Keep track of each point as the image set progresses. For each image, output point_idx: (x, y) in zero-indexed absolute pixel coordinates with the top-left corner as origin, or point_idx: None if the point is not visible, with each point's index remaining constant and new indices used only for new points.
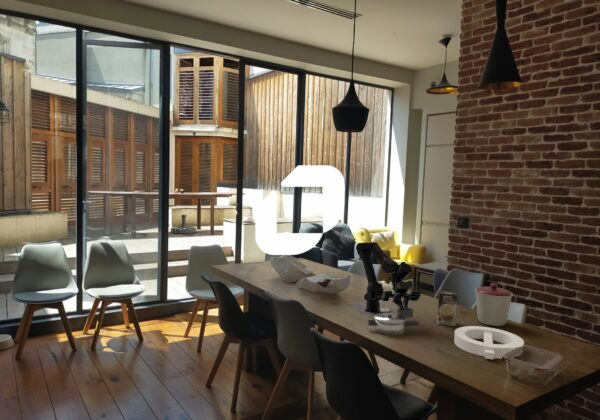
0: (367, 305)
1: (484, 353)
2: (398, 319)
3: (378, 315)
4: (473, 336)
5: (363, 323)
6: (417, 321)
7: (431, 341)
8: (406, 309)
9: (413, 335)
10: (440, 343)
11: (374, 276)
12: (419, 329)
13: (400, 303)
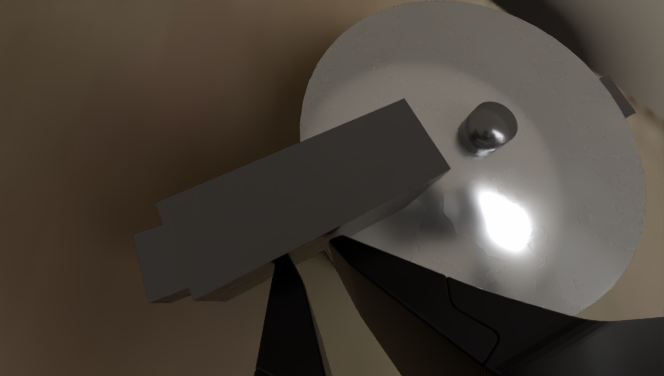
0: None
1: None
2: (377, 93)
3: (603, 169)
4: None
5: (649, 299)
6: (148, 230)
7: (106, 43)
8: (293, 170)
9: (230, 129)
10: (43, 22)
11: None
12: (151, 314)
13: (458, 283)
